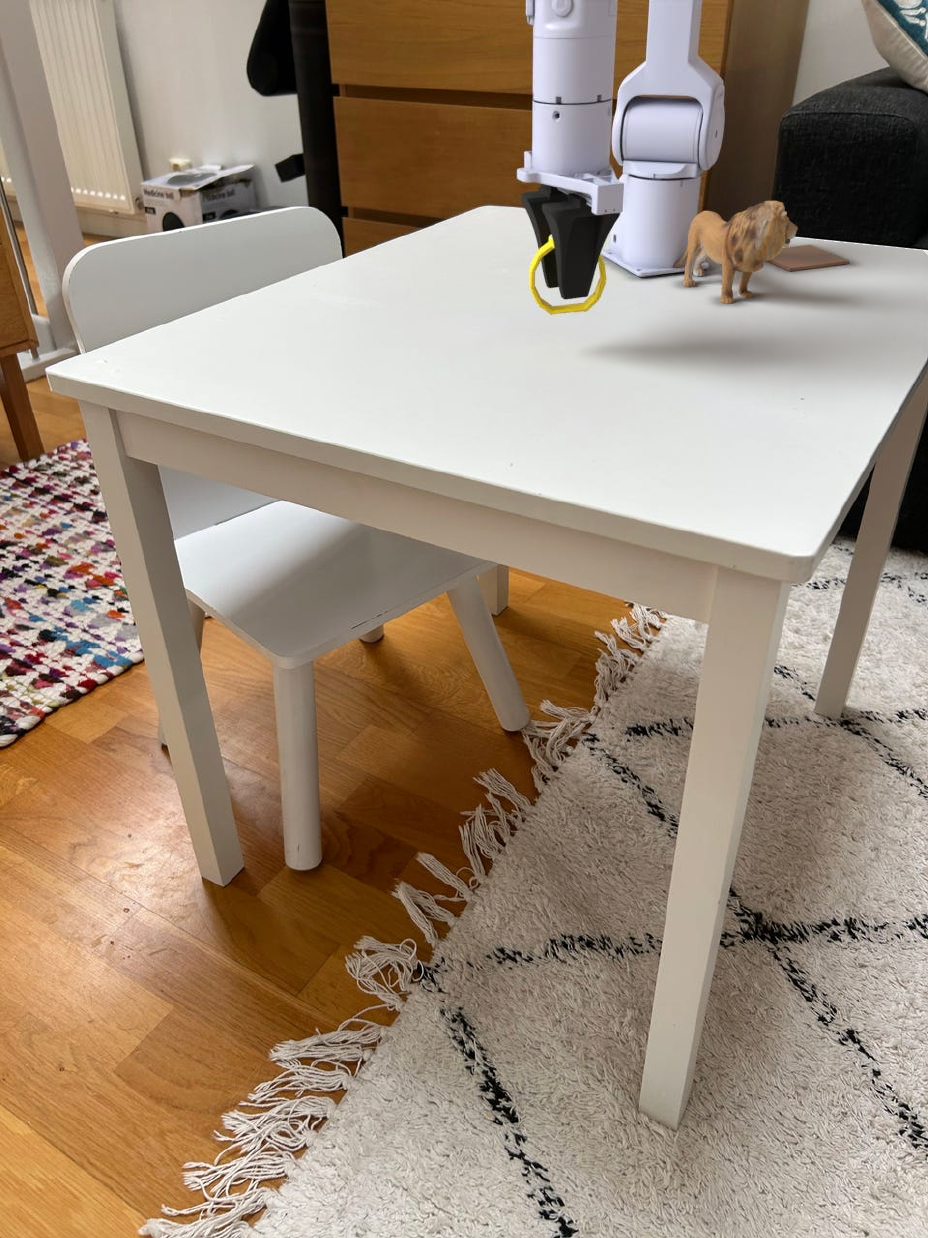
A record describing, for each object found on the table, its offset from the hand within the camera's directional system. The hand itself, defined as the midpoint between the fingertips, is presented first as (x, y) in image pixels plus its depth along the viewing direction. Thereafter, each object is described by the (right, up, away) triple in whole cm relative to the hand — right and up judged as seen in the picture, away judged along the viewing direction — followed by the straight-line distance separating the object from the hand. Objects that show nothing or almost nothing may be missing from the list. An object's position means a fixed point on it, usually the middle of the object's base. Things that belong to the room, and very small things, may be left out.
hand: (566, 291), depth 77 cm
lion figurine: (+17, +5, +16) cm, 24 cm away
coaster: (+27, +12, +24) cm, 38 cm away
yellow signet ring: (0, -1, +1) cm, 2 cm away
